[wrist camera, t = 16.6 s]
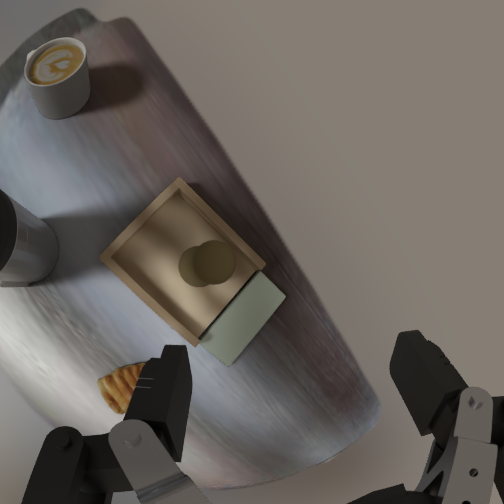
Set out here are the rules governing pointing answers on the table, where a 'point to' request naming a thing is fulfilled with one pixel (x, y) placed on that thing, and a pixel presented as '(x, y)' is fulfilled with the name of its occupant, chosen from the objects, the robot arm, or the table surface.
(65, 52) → the coffee mug
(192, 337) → the tray
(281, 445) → the table surface
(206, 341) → the panel
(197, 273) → the cork
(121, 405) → the pastry
